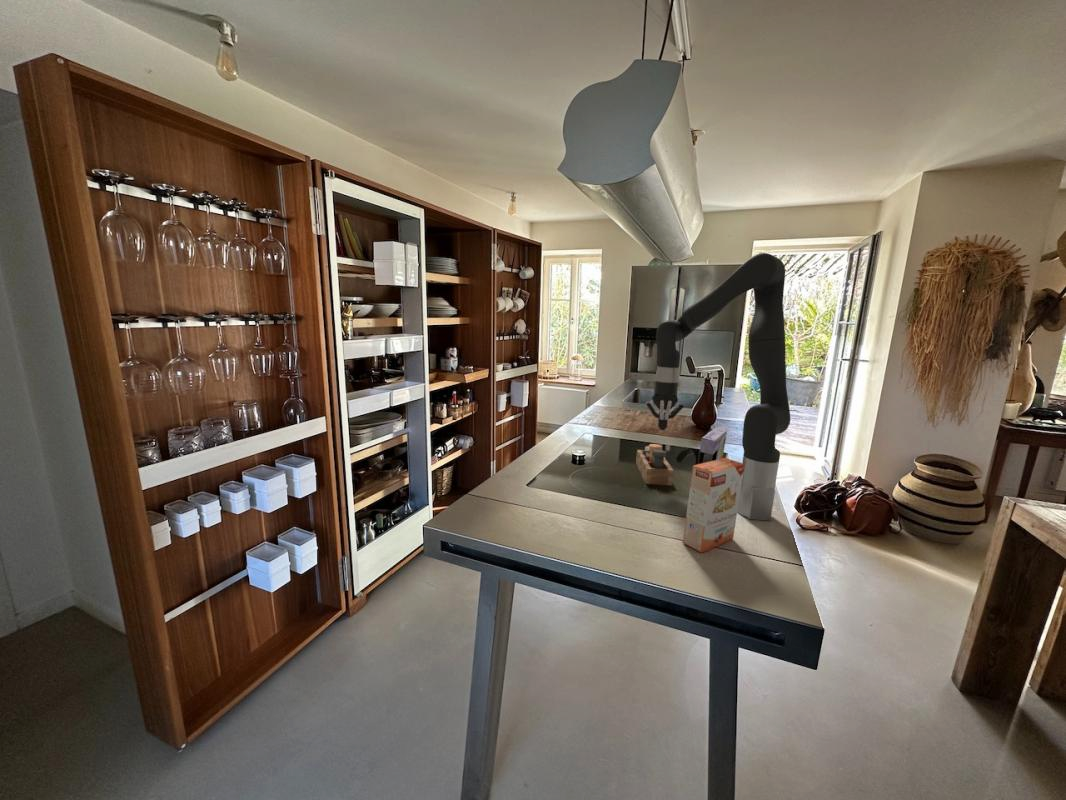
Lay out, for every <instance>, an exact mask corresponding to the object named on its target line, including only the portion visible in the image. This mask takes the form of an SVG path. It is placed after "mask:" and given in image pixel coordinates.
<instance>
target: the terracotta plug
mask: <svg viewBox="0 0 1066 800" xmlns="http://www.w3.org/2000/svg"><path fill="white" fill-rule="evenodd" d="M648 446H649V450H650V458H649V462H653V460H654V456H653V455H652V452H653V450H663V446H662V445H661V444H656V443H650V444H649V445H648Z"/></svg>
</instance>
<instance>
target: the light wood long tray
mask: <svg viewBox="0 0 1066 800" xmlns="http://www.w3.org/2000/svg"><path fill="white" fill-rule="evenodd" d="M649 458H650V456H646V452H645V449H644V450H643V449H637V451H636V459H635V464H636V466H637V468H638V470H639V473H640V475H641V477H642V479H643V481H644V484H646V485H658V486H659V485H660V486H670V487H671V486H673V482H674V473H675V472H674V469H673V467H672V466H671V464H670V463H669V462H668V460H667V459H666V457H664V462H663V469H659V468H653V462H649Z"/></svg>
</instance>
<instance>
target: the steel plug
mask: <svg viewBox="0 0 1066 800" xmlns="http://www.w3.org/2000/svg"><path fill="white" fill-rule="evenodd" d="M644 450H645V452H646V456H650V450H649V445H647V446H645V447H644Z"/></svg>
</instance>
